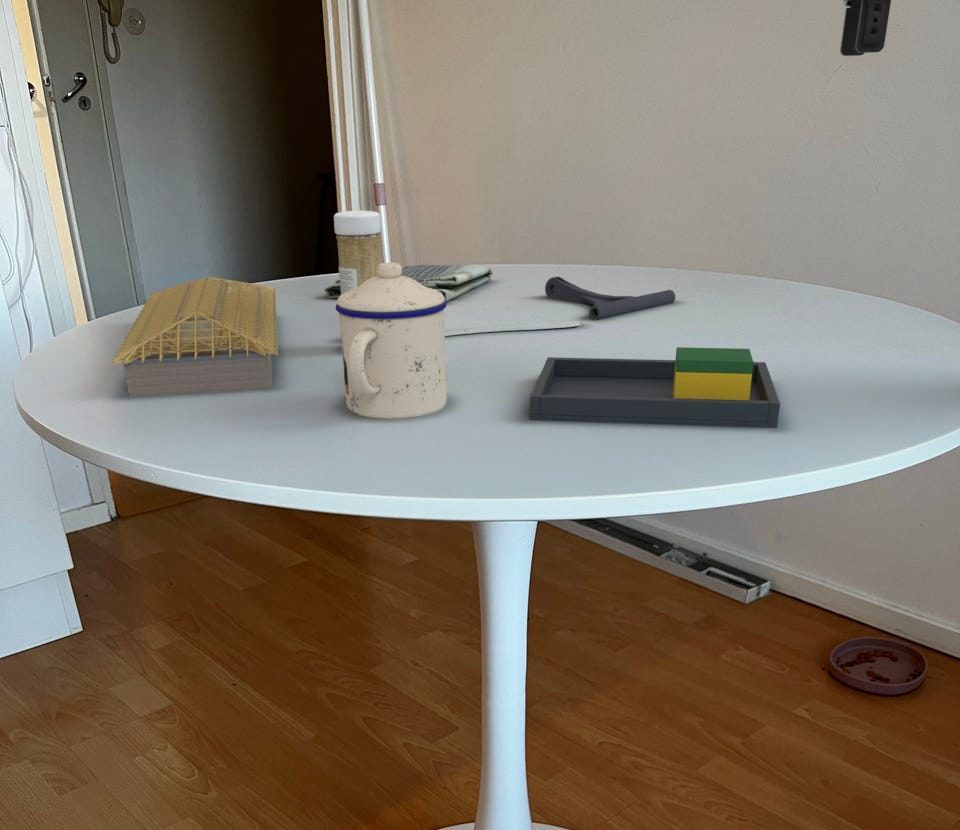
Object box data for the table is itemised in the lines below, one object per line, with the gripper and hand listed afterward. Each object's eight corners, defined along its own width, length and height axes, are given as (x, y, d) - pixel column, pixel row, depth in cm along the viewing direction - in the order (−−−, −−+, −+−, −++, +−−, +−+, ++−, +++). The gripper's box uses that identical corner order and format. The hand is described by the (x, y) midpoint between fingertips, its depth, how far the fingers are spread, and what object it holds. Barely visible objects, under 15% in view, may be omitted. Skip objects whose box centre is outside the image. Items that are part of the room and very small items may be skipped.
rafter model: (282, 391, 91) (274, 322, 89) (118, 402, 89) (104, 331, 86) (278, 317, 122) (272, 264, 119) (156, 324, 120) (146, 269, 117)
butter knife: (584, 324, 112) (576, 317, 115) (342, 343, 107) (339, 335, 110) (584, 329, 112) (576, 322, 115) (343, 348, 108) (340, 340, 110)
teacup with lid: (371, 389, 92) (362, 253, 86) (464, 397, 89) (461, 257, 83) (308, 426, 82) (293, 276, 76) (410, 436, 79) (402, 281, 74)
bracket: (585, 290, 135) (585, 268, 133) (675, 304, 125) (676, 280, 124) (509, 306, 126) (508, 283, 125) (599, 322, 117) (600, 297, 115)
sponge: (744, 396, 86) (749, 348, 84) (747, 411, 82) (753, 361, 80) (672, 394, 87) (676, 347, 85) (673, 408, 83) (677, 359, 81)
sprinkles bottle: (391, 353, 104) (383, 213, 98) (348, 356, 103) (337, 215, 97) (383, 343, 108) (374, 208, 102) (341, 347, 107) (330, 210, 101)
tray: (762, 385, 91) (765, 362, 90) (776, 430, 79) (780, 403, 78) (547, 379, 94) (547, 357, 93) (529, 421, 82) (530, 396, 81)
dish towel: (378, 277, 147) (376, 254, 145) (495, 282, 142) (494, 258, 140) (321, 300, 131) (319, 274, 130) (450, 306, 126) (450, 279, 125)
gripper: (966, -207, 73) (923, 50, 81) (923, -165, 86) (889, 55, 94) (859, -200, 75) (826, 53, 82) (832, -160, 87) (806, 57, 95)
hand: (860, 54), depth 88 cm, fingers open, 8 cm apart
